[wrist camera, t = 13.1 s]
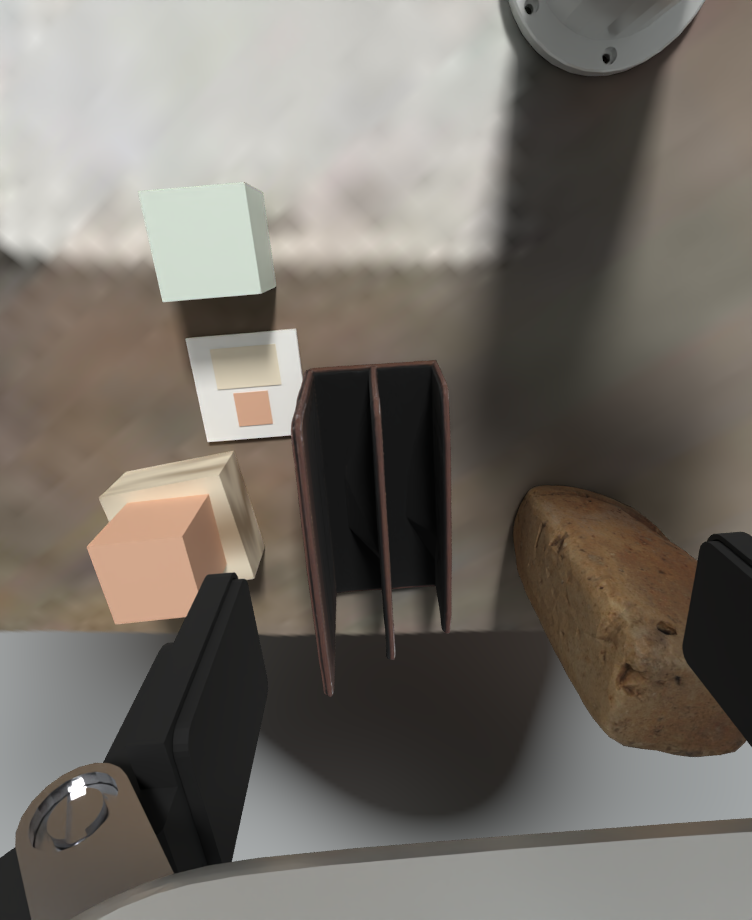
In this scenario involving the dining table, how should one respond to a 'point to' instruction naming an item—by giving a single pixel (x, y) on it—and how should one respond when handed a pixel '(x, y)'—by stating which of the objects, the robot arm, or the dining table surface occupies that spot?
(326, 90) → the dining table surface
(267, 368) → the card
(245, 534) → the birch block
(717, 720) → the block
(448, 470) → the letter holder
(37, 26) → the dining table surface
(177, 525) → the terracotta cube
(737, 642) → the robot arm
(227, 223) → the sage cube
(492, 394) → the dining table surface
